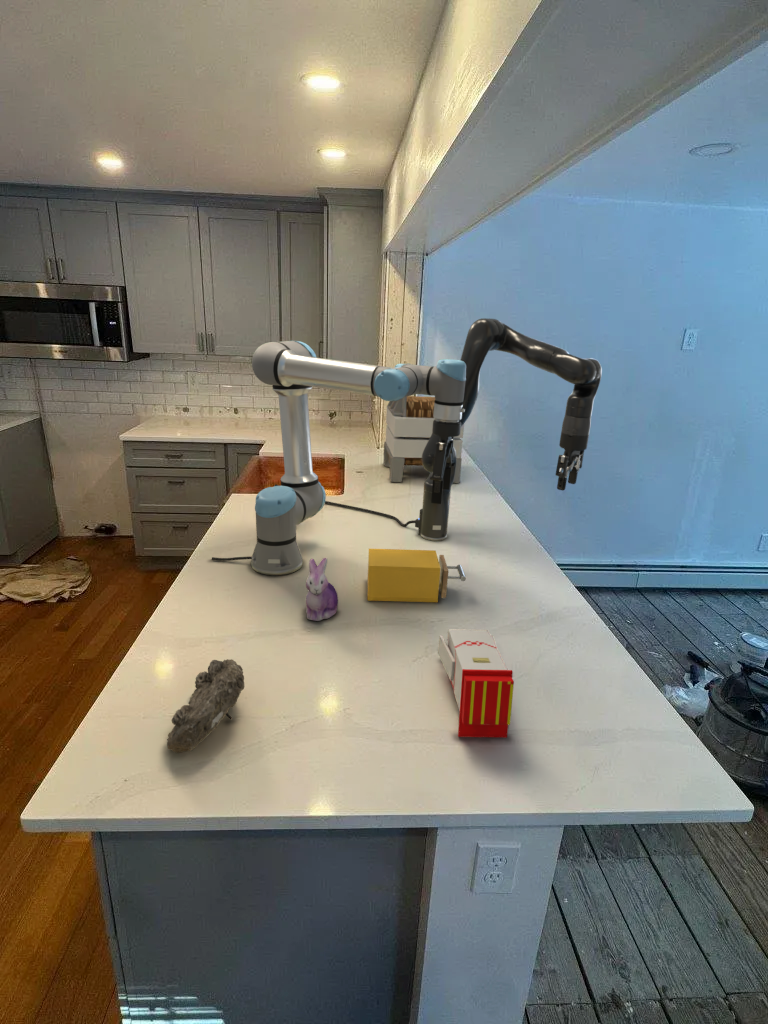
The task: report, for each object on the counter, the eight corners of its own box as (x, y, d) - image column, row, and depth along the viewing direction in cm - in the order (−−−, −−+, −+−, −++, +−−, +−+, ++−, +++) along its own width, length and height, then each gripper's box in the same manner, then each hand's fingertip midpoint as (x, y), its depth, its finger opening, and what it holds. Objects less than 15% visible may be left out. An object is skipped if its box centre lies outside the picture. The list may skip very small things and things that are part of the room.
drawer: (459, 581, 164) (462, 555, 162) (465, 598, 155) (468, 571, 152) (380, 579, 164) (381, 553, 161) (381, 596, 154) (382, 568, 151)
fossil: (192, 660, 117) (244, 628, 112) (224, 691, 120) (276, 661, 115) (142, 746, 98) (202, 712, 93) (182, 779, 101) (242, 748, 96)
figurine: (311, 626, 140) (311, 571, 135) (297, 607, 148) (296, 554, 143) (346, 618, 144) (347, 564, 139) (330, 600, 152) (331, 549, 147)
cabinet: (433, 583, 165) (435, 550, 162) (437, 602, 154) (440, 567, 151) (367, 581, 164) (368, 548, 161) (367, 600, 154) (368, 565, 150)
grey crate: (382, 463, 289) (386, 382, 275) (445, 464, 293) (451, 384, 279) (390, 482, 257) (394, 392, 243) (460, 483, 261) (468, 394, 247)
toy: (488, 613, 130) (523, 677, 101) (484, 667, 133) (517, 744, 104) (435, 612, 130) (455, 676, 101) (432, 666, 133) (451, 743, 103)
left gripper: (454, 430, 138) (446, 511, 146) (467, 413, 161) (460, 485, 168) (424, 427, 140) (418, 507, 147) (441, 411, 163) (435, 482, 170)
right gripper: (571, 426, 167) (563, 479, 172) (552, 432, 156) (544, 489, 162) (597, 430, 163) (587, 484, 168) (579, 437, 152) (570, 494, 157)
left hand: (440, 495), depth 158 cm, fingers open, 13 cm apart
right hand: (566, 486), depth 165 cm, fingers open, 8 cm apart
